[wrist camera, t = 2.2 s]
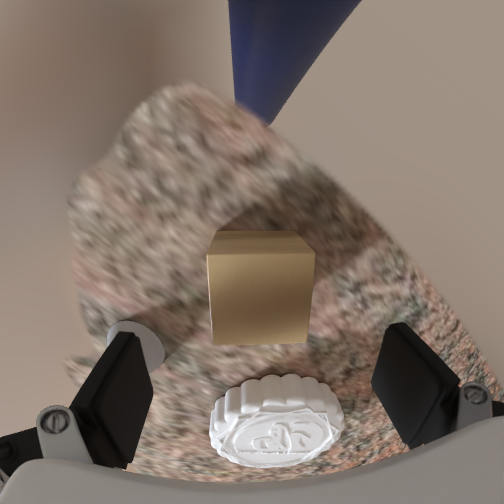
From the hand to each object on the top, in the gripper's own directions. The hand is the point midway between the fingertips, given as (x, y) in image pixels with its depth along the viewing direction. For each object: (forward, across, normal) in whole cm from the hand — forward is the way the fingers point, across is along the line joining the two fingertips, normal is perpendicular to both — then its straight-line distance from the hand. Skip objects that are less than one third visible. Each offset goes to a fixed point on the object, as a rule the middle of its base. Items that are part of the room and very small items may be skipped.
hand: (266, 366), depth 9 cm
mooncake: (+10, -2, +14) cm, 17 cm away
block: (+9, 0, -1) cm, 9 cm away
